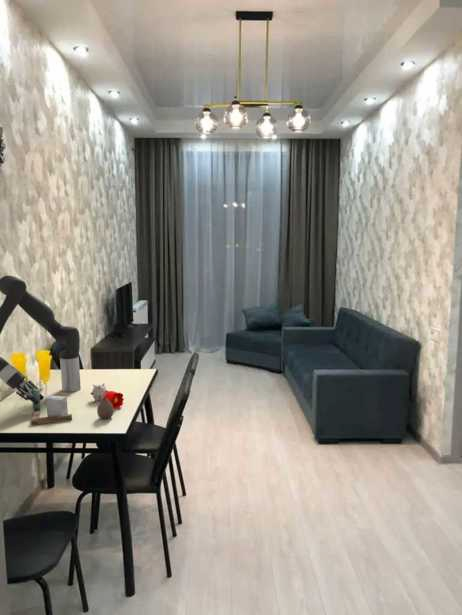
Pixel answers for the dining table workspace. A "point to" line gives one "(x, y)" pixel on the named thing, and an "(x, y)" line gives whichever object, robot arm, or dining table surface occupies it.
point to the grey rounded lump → (105, 409)
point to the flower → (114, 398)
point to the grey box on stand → (45, 419)
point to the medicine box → (56, 406)
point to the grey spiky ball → (99, 392)
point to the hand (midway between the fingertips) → (40, 401)
